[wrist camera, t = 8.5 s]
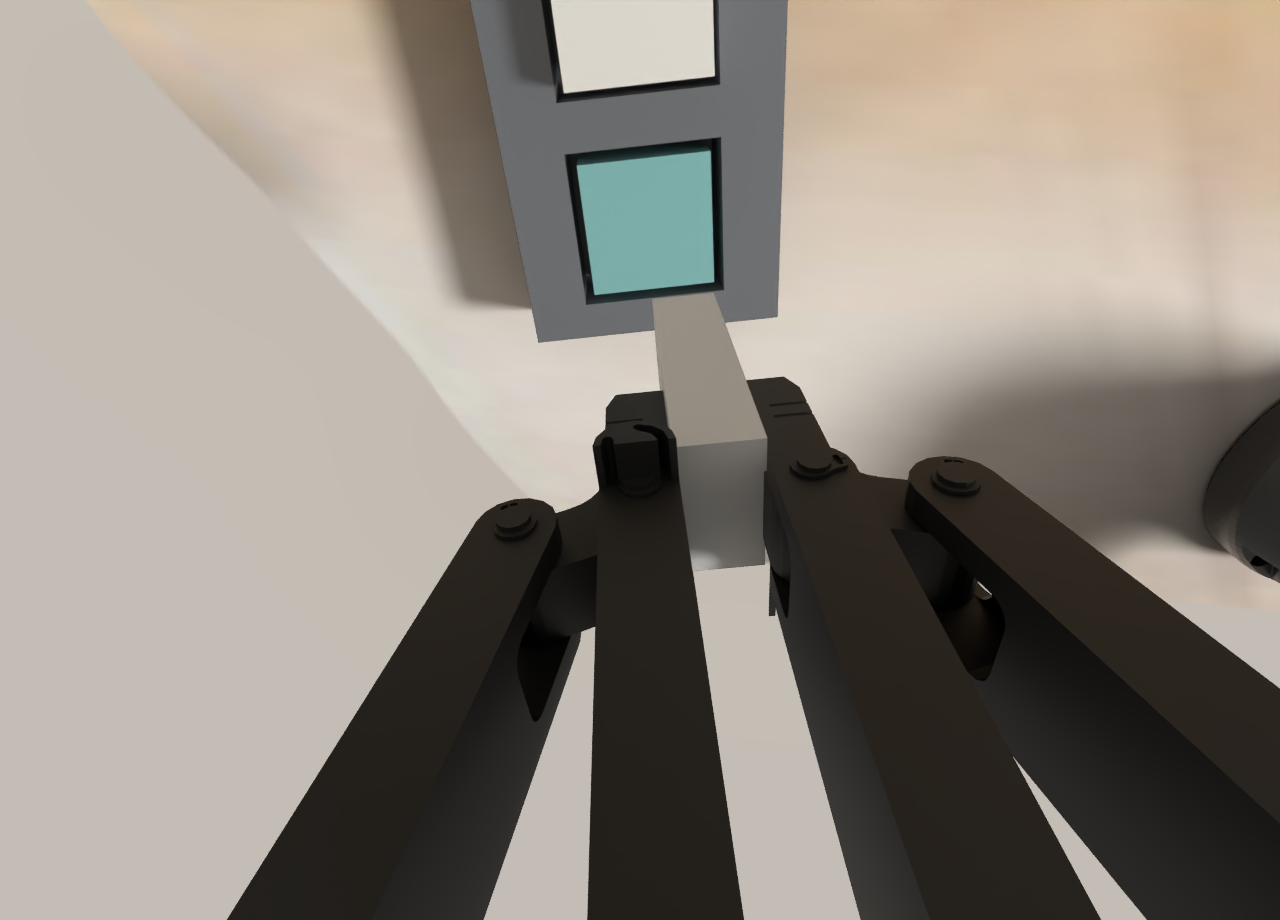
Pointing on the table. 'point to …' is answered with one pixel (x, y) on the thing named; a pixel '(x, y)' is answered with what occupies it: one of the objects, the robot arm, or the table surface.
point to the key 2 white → (632, 42)
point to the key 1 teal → (648, 216)
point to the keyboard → (626, 118)
